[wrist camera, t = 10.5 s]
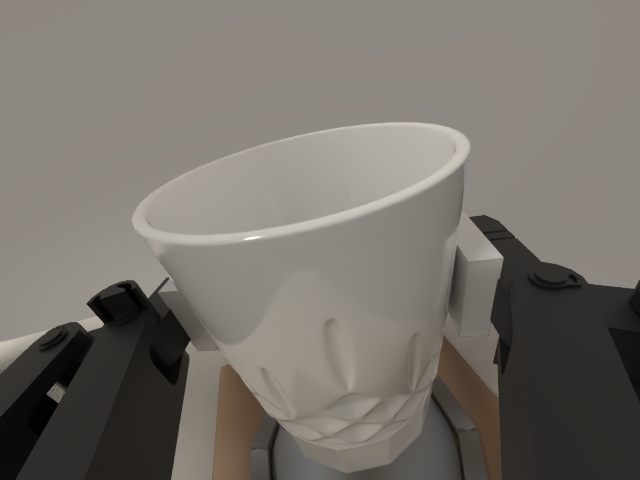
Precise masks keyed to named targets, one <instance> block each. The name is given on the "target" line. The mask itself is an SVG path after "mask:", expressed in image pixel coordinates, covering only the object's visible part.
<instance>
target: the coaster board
mask: <svg viewBox="0 0 640 480" xmlns="http://www.w3.org/2000/svg"><path fill="white" fill-rule="evenodd" d="M212 480H502V471H501V444H500V416H499V400H498V399H497V398H496V396H495V395H494V394H493V393H492V392H491V391H490V389H489V388H488V387H487V386H486V385H485V384H484V382H483V381H482V380H481V379H480V378H479V377H478V375H477V374H476V373H475V372H474V371H473V369H472V368H471V367H470V366H469V365H468V364H467V362H466V361H465V360H464V359H463V358H462V357H461V355H460V354H459V353H458V352H457V351H456V350H455V348H454V347H453V346H452V345H451V344H450V343H449V341H448V340H447V339H446V338H445V337H444V335H443V340H442V347H441V351H440V357H439V364H438V369H437V374H436V377H435V379H434V381H433V385H432V393H431V398H430V401H429V405H428V409H427V413H426V417H425V421H424V425H423V429H422V432H421V434H420V435H419V436H418V437H417V438H416V439H415V440H414V441H413V442H412V443H411V444H410V445H409V446H408V447H407V448H406V449H405V450H404V451H403V452H402V453H401V454H400V455H399V456H398V457H397V458H396V459H395V460H394V461H393V462H392V463H391V464H388V465H384V466H379V467H375V468H370V469H366V470H361V471H357V472H352V473H344V472H342V471H339V470H336V469H333V468H330V467H328V466H325V465H322V464H319V463H317V462H314V461H311V460H308V459H307V458H306V457H305V456H304V455H303V454H302V452H301V451H300V450H299V449H298V447H297V446H296V445H295V444H294V442H293V441H292V440H291V439H290V438H289V436H288V435H287V434H286V433H285V431H284V430H283V429H282V428H281V426H280V425H279V423H278V422H277V420H276V419H274V418H272V417H271V416H269V415H268V413H267V412H266V411H265V410H264V408H263V407H262V405H261V404H260V402H259V401H258V400H257V399H256V397H255V396H254V395H253V394H252V393H251V392H250V390H249V389H248V387H247V386H246V385H245V383H244V382H243V380H242V379H241V377H240V376H239V374H238V373H237V372H236V371H235V370H234V369H233V368H232V366H231V365H230V364H229V365H226V366H223V367H221V373H220V386H219V399H218V412H217V425H216V438H215V451H214V464H213V476H212Z"/></svg>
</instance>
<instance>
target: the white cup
mask: <svg viewBox="0 0 640 480" xmlns="http://www.w3.org/2000/svg"><path fill="white" fill-rule="evenodd" d="M469 156H470V142H469V140H468V139H467V137H466V136H465V135H464V134H462V133H461V132H459V131H457V130H455V129H452V128H449V127H446V126H442V125H437V124H430V123H417V122H389V123H375V124H365V125H355V126H348V127H341V128H334V129H329V130H323V131H318V132H312V133H308V134H303V135H298V136H294V137H290V138H286V139H282V140H277V141H274V142H270V143H267V144H263V145H259V146H256V147H253V148H250V149H246V150H243V151H240V152H237V153H234V154H231V155H228V156H225V157H222V158H220V159H217V160H215V161H212V162H209V163H207V164H204V165H202V166H200V167H198V168H195V169H193V170H191V171H188V172H186V173H184V174H183V175H181V176H178V177H176V178H174V179H173V180H171V181H169V182H167V183H166V184H164V185H162V186H161V187H159V188H158V189H156V190H155V191H154V192H152V193H151V194H150V195H148V196H147V197H146V198H145V199H144V200H143V201H142V202H141V203H140V204H139V205H138V206H137V208H136V209H135V211H134V213H133V216H132V225H133V228H134V229H135V231H136V232H137V234H138V235H139V236H140V238H141V239H142V240H143V242H144V243H145V245H146V246H147V248H148V249H149V250H150V252H151V253H152V255H153V256H154V257H155V259H156V260H157V262H158V263H159V264H160V266H161V267H162V269H163V270H164V271H165V273H166V274H167V276H168V277H169V279H170V280H171V281H172V283H173V284H174V286H175V287H176V289H177V290H178V291H179V293H180V294H181V296H182V297H183V298H184V300H185V301H186V302H187V304H188V305H189V307H190V308H191V309H192V311H193V312H194V314H195V315H196V317H197V318H198V319H199V321H200V322H201V324H202V325H203V327H204V328H205V329H206V331H207V332H208V334H209V335H210V337H211V338H212V339H213V341H214V342H215V344H216V345H217V347H218V348H219V350H220V351H221V353H222V354H223V356H224V357H225V358H226V360H227V361H228V363H229V364H230V365H231V366H232V368H233V369H234V370H235V371H236V372H237V373H238V374H239V376H240V377H241V379H242V380H243V382H244V383H245V385H246V386H247V387H248V389H249V390H250V392H251V393H252V394H253V395H254V396H255V397H256V399H257V400H258V401H259V402H260V404H261V405H262V407H263V408H264V410H265V411H266V412H267V413H268V415H269V416H271V417H272V418H274V419H276V420H277V422H278V423H279V425H280V426H281V428H282V429H283V430H284V431H285V433H286V434H287V435H288V436H289V438H290V439H291V440H292V441H293V442H294V444H295V445H296V446H297V447H298V449H299V450H300V451H301V452H302V454H303V455H304V456H305V457H306V458H307V459H308V460H311V461H314V462H317V463H319V464H322V465H325V466H328V467H330V468H333V469H336V470H339V471H342V472H344V473H352V472H357V471H361V470H366V469H370V468H375V467H379V466H384V465H388V464H391V463H392V462H393V461H394V460H395V459H396V458H397V457H398V456H399V455H400V454H401V453H402V452H403V451H404V450H405V449H406V448H407V447H408V446H409V445H410V444H411V443H412V442H413V441H414V440H415V439H416V438H417V437H418V436H419V435H420V434H421V432H422V429H423V425H424V421H425V417H426V413H427V409H428V405H429V401H430V398H431V393H432V385H433V381H434V379H435V377H436V374H437V369H438V364H439V357H440V351H441V347H442V340H443V334H444V327H445V320H446V316H447V313H448V307H449V301H450V293H451V285H452V278H453V270H454V263H455V255H456V248H457V240H458V233H459V226H460V218H461V211H462V204H463V196H464V190H465V183H466V176H467V169H468V162H469Z"/></svg>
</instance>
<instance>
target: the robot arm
mask: <svg viewBox="0 0 640 480" xmlns="http://www.w3.org/2000/svg"><path fill="white" fill-rule="evenodd" d="M87 305H88V306H89V307H90V308H91V309H92V310H93V311H94V313H95V314H96V315H97V316H98V317H99V318H100V319H101V320H102V322H103V323H104V325H103V327H101V328H98V329H95V330H92V331H89V332H87V331H86V330H85V329H84V328H83V327H82V326H81V325H80V324H79V323H78V322H70V323H67V324H64V325H60V326H57V327H56V328H53V329H51V330H49V331H48V332H47V333H46V334H45V335H43V336H41V337H40V338H39V339H38V340H37V341H35V342H34V343H33V344H32V345H31V346H30V347H29V348H28V349H27V350H25V351H24V352H23V353H22V354H21V355H20V356H19V357H18V358H17V359H16V360H15V361H14V362H13V363H12V364H11V365H10V366H9V367H8V368H7V369H6V370H5V371H3V372H2V373H1V374H0V480H171V476H172V469H173V463H174V456H175V450H176V444H177V437H178V431H179V424H180V418H181V411H182V405H183V399H184V392H185V386H186V379H187V373H188V367H189V355H188V353H187V352H186V351H185V348H186V347H187V345H188V343H189V342H190V340H191V342H192V343H193V345H194V346H195V348H196V349H197V350H198V351H212V350H218V349H219V348H218V347H217V345H216V344H215V342H214V341H213V339H212V338H211V337H210V335H209V334H208V332H207V331H206V329H205V328H204V327H203V325H202V324H201V322H200V321H199V319H198V318H197V317H196V315H195V314H194V312H193V311H192V309H191V308H190V307H189V305H188V304H187V302H186V301H185V300H184V298H183V297H182V296H181V294H180V293H179V291H178V290H177V289H176V287H175V286H174V284H173V283H172V281H171V280H170V279H169V277H168V278H166V279H165V280H164V282H162V284H161V285H160V286H159V287H158V288H157V289H156V290H155V291H154V292H153V294H152V295H151V296H150V297H149V298H147V297H146V295H145V294H144V293H143V291H142V290H141V288H140V287H139V286H138V284H137V283H136V282H135V281H132V280H127V281H122V282H119V283H116V284H114V285H111V286H109V287H108V288H106V289H104V290H102V291H101V292H99V293H98V294H96V295H95V296H94V297H92V298H91V299H90V300H89V301H88V303H87ZM448 311H449V314H450V316H451V318H452V320H453V323H454V325H455V327H456V330H457V332H458V334H459V337H473V336H489V331H490V325H491V322H492V324H493V325H494V327H495V329H496V330H497V332H498V334H499V339H498V343H497V348H496V352H495V357H494V361H493V363H494V364H498V389H499V416H500V444H501V471H502V480H640V280H639V282H638V284H637V286H636V287H635V289H630V288H621V287H610V286H602V285H593V284H588V283H587V282H586V280H585V279H584V278H583V277H582V276H581V275H579V274H578V273H576V272H574V271H573V270H571V269H568V268H565V267H563V266H560V265H556V264H551V263H546V262H541V261H540V260H539V259H538V258H537V257H536V256H535V255H534V254H533V253H532V252H531V251H529V250H528V249H527V248H526V247H525V246H524V245H523V244H522V243H521V242H520V241H519V240H518V239H517V238H516V239H515V236H514V235H513V234H512V233H510V232H509V231H508V230H507V229H506V228H505V227H504V226H503V225H502V224H501V223H500V222H499V221H497V220H495V219H493V218H490V217H488V216H486V215H482V216H475V217H468V216H467V215H466V214H465V212H464V211H463V210H462V211H461V218H460V226H459V233H458V240H457V248H456V255H455V263H454V270H453V278H452V285H451V293H450V301H449V307H448ZM54 384H57V385H58V386H59V387H60V388H62V389H63V390H64V391H65V394H64V395H63V397H62V399H61V401H60V402H59V404H58V403H57V402H56V401H54V400H53V399H52V398H50V397H49V396H48V395H46V394H47V392H48V391H49V390H50V389H51V388H52V386H53V385H54Z"/></svg>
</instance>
